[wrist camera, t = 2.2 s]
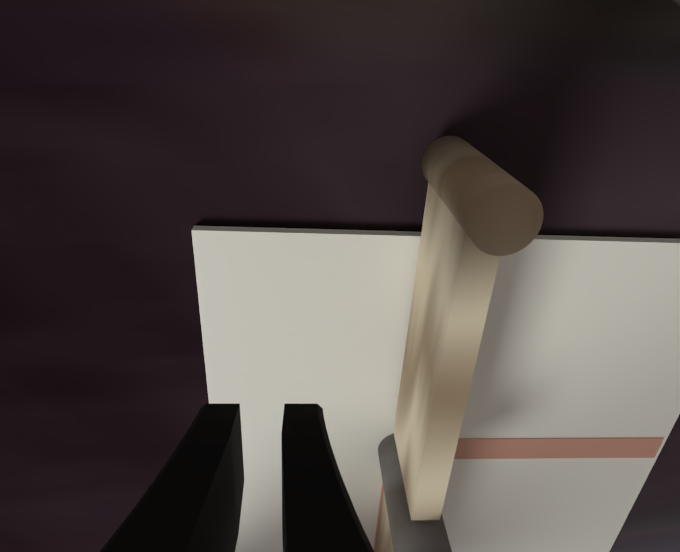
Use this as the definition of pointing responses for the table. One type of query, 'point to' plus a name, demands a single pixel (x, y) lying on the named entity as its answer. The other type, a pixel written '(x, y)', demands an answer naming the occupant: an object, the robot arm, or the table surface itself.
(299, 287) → the mat
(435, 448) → the beige long t-shaped piece
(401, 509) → the fixed fence section
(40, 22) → the table surface
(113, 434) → the table surface
